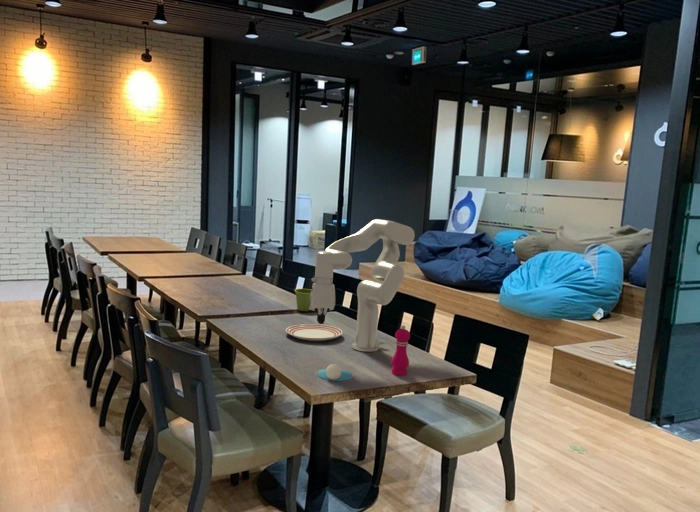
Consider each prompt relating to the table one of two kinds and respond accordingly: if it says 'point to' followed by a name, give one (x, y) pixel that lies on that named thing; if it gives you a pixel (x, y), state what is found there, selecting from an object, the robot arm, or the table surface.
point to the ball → (333, 371)
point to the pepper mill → (401, 352)
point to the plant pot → (303, 299)
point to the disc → (344, 376)
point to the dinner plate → (314, 332)
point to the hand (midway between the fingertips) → (320, 323)
